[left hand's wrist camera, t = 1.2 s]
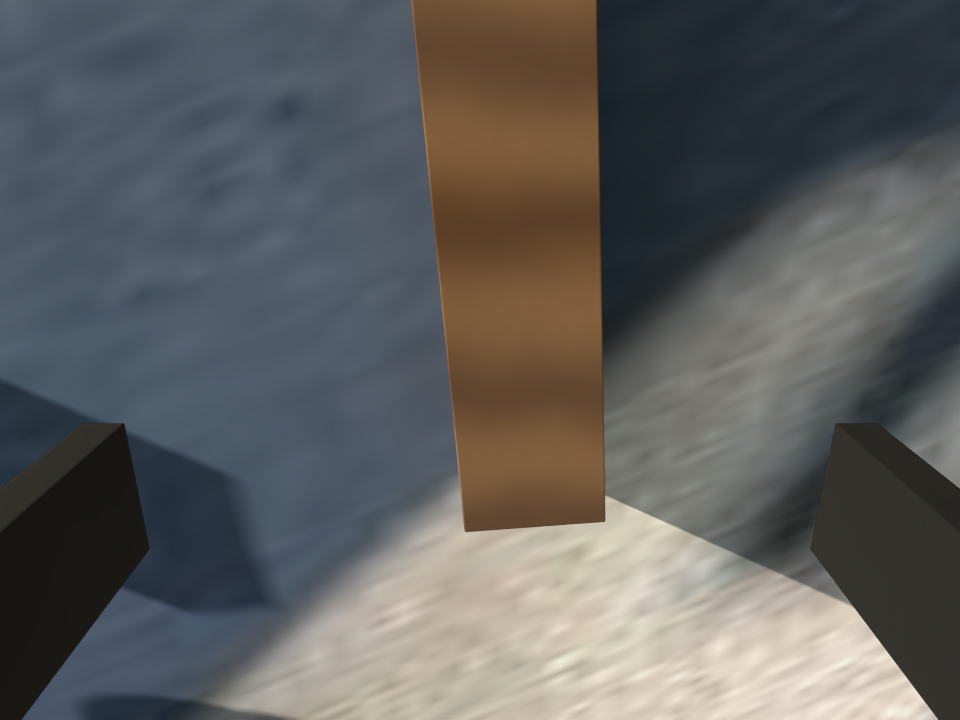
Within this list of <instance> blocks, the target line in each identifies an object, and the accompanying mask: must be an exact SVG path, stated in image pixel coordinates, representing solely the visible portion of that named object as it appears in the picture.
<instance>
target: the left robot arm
mask: <svg viewBox="0 0 960 720" xmlns="http://www.w3.org/2000/svg"><path fill="white" fill-rule="evenodd" d="M149 549H150V548H149V543H148V538H147V534H146V529H145V524H144V519H143V514H142V509H141V504H140V499H139V494H138V489H137V484H136V479H135V474H134V469H133V464H132V459H131V454H130V450H129V445H128V440H127V435H126V430H125V425H124V423H83V424H81V425H80V426H79V427H78V428H76V429H75V430H74V431H73V432H71V433H70V434H69V435H67V436H66V437H65V438H64V439H62V440H61V441H60V442H59V443H57V444H56V445H55V446H54V447H52V448H51V449H50V450H49V451H47V452H46V453H45V454H43V455H42V456H41V457H40V458H38V459H37V460H36V461H35V462H33V463H32V464H31V465H30V466H28V467H27V468H26V469H25V470H23V471H22V472H21V473H19V474H18V475H17V476H16V477H14V478H13V479H12V480H11V481H9V482H8V483H7V484H6V485H4V486H3V487H2V488H1V489H0V720H22V718H23V717H24V716H25V714H26V713H27V712H28V710H29V709H30V708H31V706H32V705H33V704H34V702H35V701H36V700H37V698H38V697H39V696H40V694H41V693H42V692H43V690H44V689H45V688H46V686H47V685H48V684H49V682H50V681H51V680H52V678H53V677H54V676H55V674H56V673H57V672H58V670H59V669H60V668H61V666H62V665H63V664H64V662H65V661H66V660H67V658H68V657H69V656H70V654H71V653H72V652H73V650H74V649H75V648H76V646H77V645H78V644H79V642H80V641H81V640H82V638H83V637H84V636H85V634H86V633H87V632H88V630H89V629H90V628H91V626H92V625H93V624H94V622H95V621H96V620H97V619H98V617H99V616H100V615H101V613H102V612H103V611H104V609H105V608H106V607H107V605H108V604H109V603H110V601H111V600H112V599H113V597H114V596H115V595H116V593H117V592H118V591H119V589H120V588H121V587H122V585H123V584H124V583H125V581H126V580H127V579H128V577H129V576H130V575H131V573H132V572H133V571H134V569H135V568H136V567H137V565H138V564H139V563H140V561H141V560H142V559H143V557H144V556H145V555H146V553H147V552H148V551H149ZM810 549H811V551H812V552H813V553H814V555H815V556H816V557H817V559H818V560H819V561H820V563H821V564H822V565H823V567H824V568H825V569H826V571H827V572H828V573H829V575H830V576H831V577H832V579H833V580H834V581H835V583H836V584H837V585H838V587H839V588H840V589H841V591H842V592H843V593H844V595H845V596H846V597H847V599H848V600H849V601H850V603H851V604H852V605H853V607H854V608H855V609H856V611H857V612H858V613H859V615H860V616H861V617H862V618H863V620H864V621H865V622H866V624H867V625H868V626H869V628H870V629H871V630H872V632H873V633H874V634H875V636H876V637H877V638H878V640H879V641H880V642H881V644H882V645H883V646H884V648H885V649H886V650H887V652H888V653H889V654H890V656H891V657H892V658H893V660H894V661H895V662H896V664H897V665H898V666H899V668H900V669H901V670H902V672H903V673H904V674H905V676H906V677H907V678H908V680H909V681H910V682H911V684H912V685H913V686H914V688H915V689H916V690H917V692H918V693H919V694H920V696H921V697H922V698H923V700H924V701H925V702H926V704H927V705H928V706H929V708H930V709H931V710H932V712H933V713H934V714H935V716H936V717H937V718H938V720H960V489H959V488H958V487H957V486H956V485H954V484H953V483H952V482H951V481H949V480H948V479H947V478H946V477H944V476H943V475H942V474H941V473H939V472H938V471H937V470H935V469H934V468H933V467H932V466H930V465H929V464H928V463H927V462H925V461H924V460H923V459H922V458H920V457H919V456H918V455H917V454H915V453H914V452H913V451H911V450H910V449H909V448H908V447H906V446H905V445H904V444H903V443H901V442H900V441H899V440H898V439H896V438H895V437H894V436H893V435H891V434H890V433H889V432H887V431H886V430H885V429H884V428H882V427H881V426H880V425H879V424H877V423H836V425H835V430H834V435H833V440H832V445H831V450H830V454H829V459H828V464H827V469H826V474H825V479H824V484H823V489H822V494H821V499H820V504H819V509H818V514H817V519H816V524H815V529H814V534H813V538H812V543H811V548H810Z"/></svg>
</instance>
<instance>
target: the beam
mask: <svg viewBox="0 0 960 720" xmlns="http://www.w3.org/2000/svg"><path fill="white" fill-rule="evenodd" d="M411 4H412V14H413V24H414V34H415V44H416V54H417V64H418V74H419V84H420V94H421V104H422V113H423V123H424V133H425V143H426V153H427V163H428V173H429V183H430V193H431V203H432V213H433V223H434V232H435V242H436V252H437V262H438V272H439V282H440V292H441V302H442V312H443V322H444V332H445V342H446V351H447V361H448V371H449V381H450V391H451V401H452V411H453V421H454V431H455V441H456V451H457V461H458V470H459V480H460V490H461V500H462V510H463V520H464V530H465V532H473V531H487V530H500V529H514V528H527V527H541V526H554V525H568V524H581V523H595V522H605V472H604V409H603V346H602V282H601V219H600V156H599V93H598V30H597V0H411Z"/></svg>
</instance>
